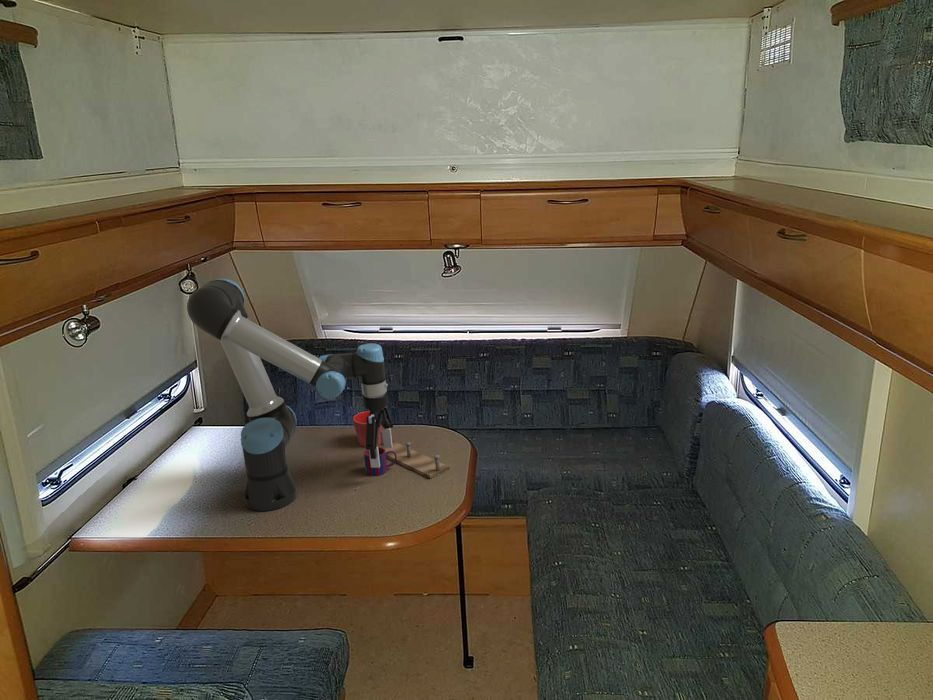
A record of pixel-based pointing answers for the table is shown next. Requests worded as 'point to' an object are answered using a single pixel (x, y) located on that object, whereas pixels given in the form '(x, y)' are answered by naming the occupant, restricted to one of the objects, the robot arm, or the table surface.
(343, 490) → the table surface
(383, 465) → the mug
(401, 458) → the rail
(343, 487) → the table surface
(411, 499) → the table surface
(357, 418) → the flower pot
